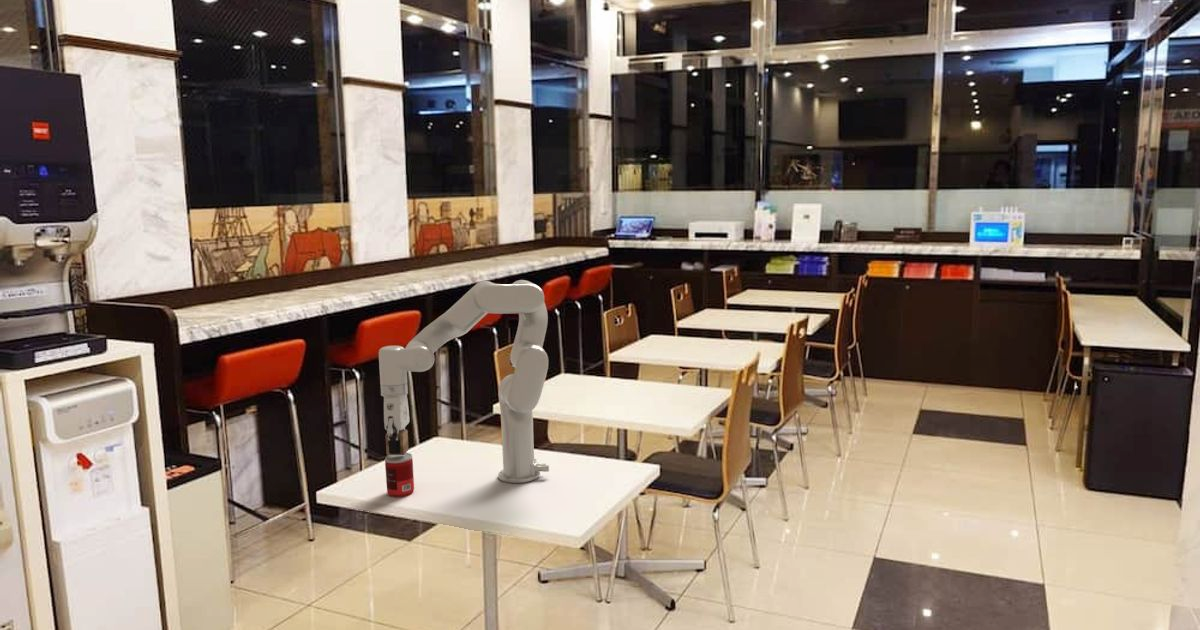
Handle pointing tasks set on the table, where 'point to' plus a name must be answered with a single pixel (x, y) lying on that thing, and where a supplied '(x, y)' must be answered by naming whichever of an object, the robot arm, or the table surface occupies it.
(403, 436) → the walnut block
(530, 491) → the table surface
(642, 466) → the table surface
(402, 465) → the canned food
